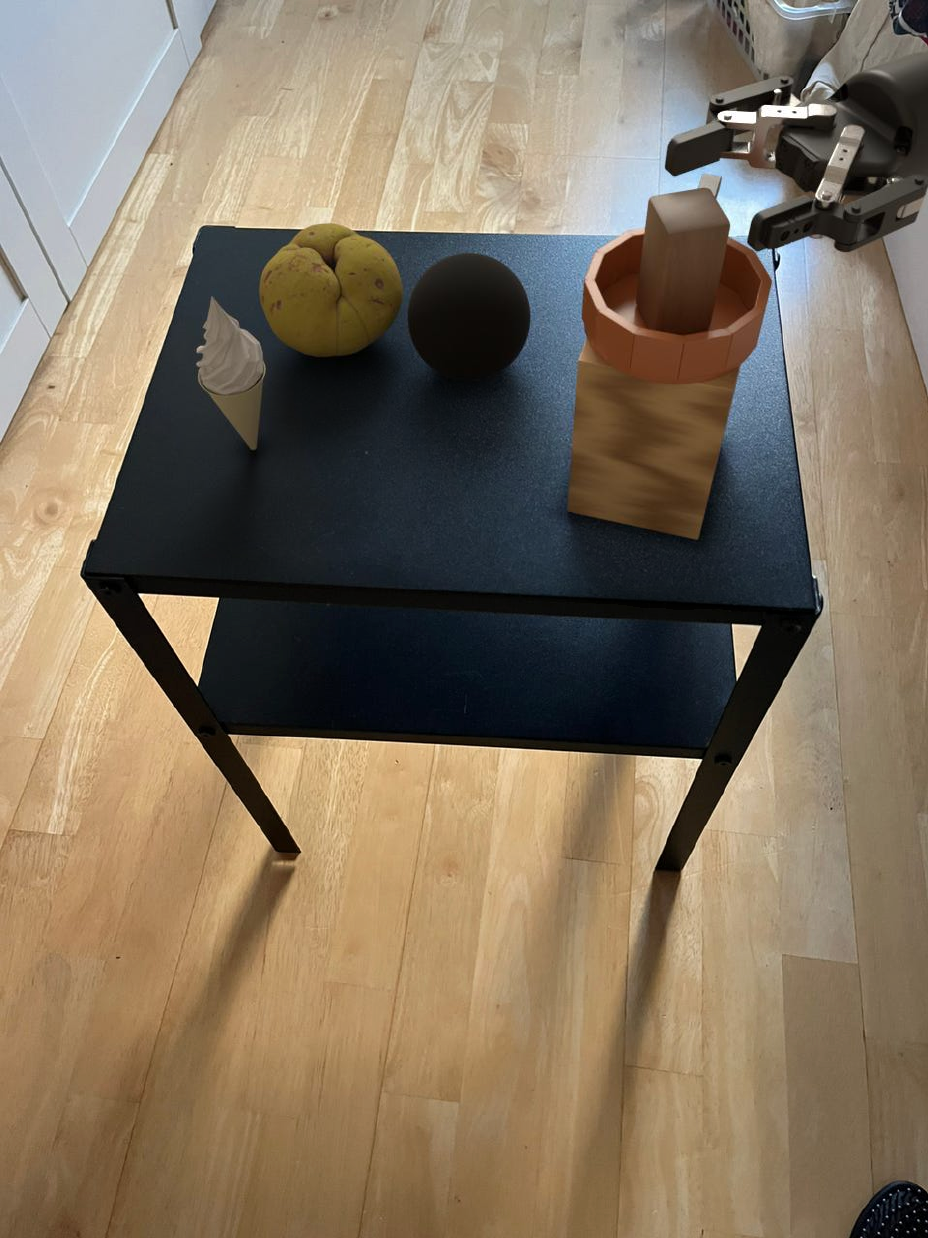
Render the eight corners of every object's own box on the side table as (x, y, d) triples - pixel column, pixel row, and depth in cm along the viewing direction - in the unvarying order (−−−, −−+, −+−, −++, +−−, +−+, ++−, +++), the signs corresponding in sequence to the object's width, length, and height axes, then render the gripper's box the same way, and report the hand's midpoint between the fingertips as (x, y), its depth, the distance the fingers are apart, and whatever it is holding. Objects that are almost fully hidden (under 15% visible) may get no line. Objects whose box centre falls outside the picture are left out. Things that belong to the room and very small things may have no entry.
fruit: (272, 305, 94) (249, 207, 86) (401, 291, 94) (391, 192, 86) (274, 391, 88) (249, 293, 80) (412, 375, 88) (402, 277, 80)
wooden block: (633, 302, 69) (646, 193, 62) (691, 292, 69) (710, 183, 63) (652, 341, 67) (668, 233, 60) (711, 331, 67) (733, 222, 61)
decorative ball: (465, 310, 93) (461, 211, 84) (553, 359, 89) (558, 260, 80) (388, 370, 89) (375, 272, 80) (476, 424, 85) (472, 326, 76)
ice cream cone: (281, 470, 83) (241, 319, 70) (218, 471, 83) (167, 321, 70) (288, 425, 85) (251, 272, 73) (227, 425, 86) (179, 273, 73)
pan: (743, 399, 64) (754, 356, 61) (564, 365, 67) (566, 322, 64) (785, 223, 74) (797, 178, 71) (628, 199, 76) (633, 154, 73)
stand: (721, 445, 82) (758, 289, 70) (697, 540, 77) (733, 389, 65) (598, 420, 84) (613, 265, 72) (567, 511, 79) (577, 360, 67)
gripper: (866, 5, 66) (649, 77, 62) (1034, 112, 58) (799, 201, 55) (836, 119, 72) (637, 190, 68) (984, 229, 64) (770, 316, 61)
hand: (709, 195), depth 61 cm, fingers open, 8 cm apart
